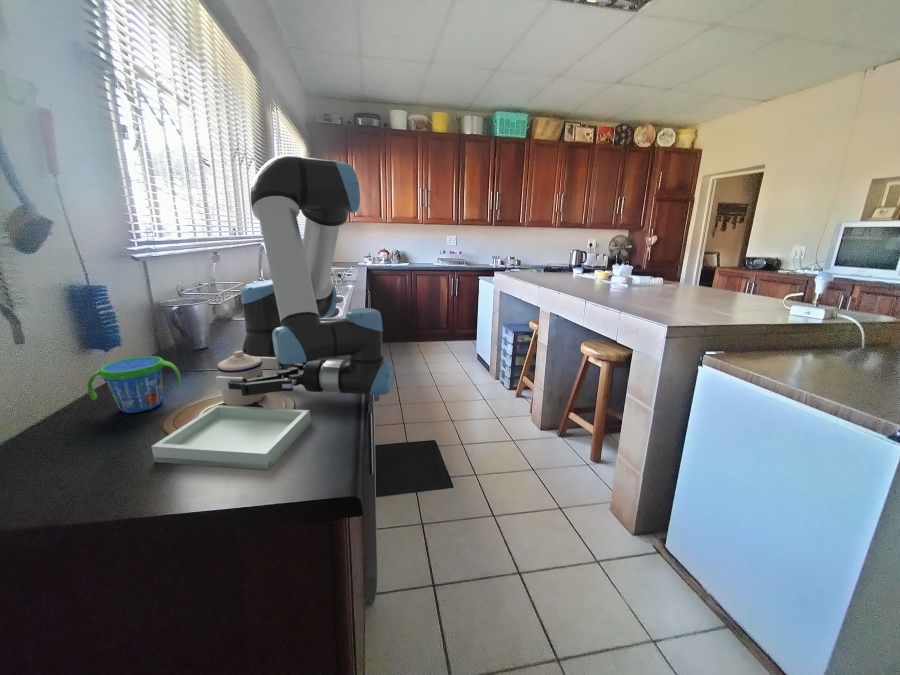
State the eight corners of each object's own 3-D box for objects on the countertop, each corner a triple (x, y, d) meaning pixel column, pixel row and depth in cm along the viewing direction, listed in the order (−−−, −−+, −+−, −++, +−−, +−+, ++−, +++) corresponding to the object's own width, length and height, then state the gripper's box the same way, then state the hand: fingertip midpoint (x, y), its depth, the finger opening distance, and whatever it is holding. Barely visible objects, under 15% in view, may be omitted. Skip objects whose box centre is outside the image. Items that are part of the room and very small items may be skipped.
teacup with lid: (264, 404, 86) (258, 355, 83) (218, 409, 83) (211, 359, 80) (268, 384, 97) (263, 341, 94) (228, 389, 93) (221, 344, 90)
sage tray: (218, 418, 79) (216, 404, 78) (310, 423, 77) (309, 410, 77) (154, 462, 64) (151, 446, 63) (268, 469, 62) (266, 453, 61)
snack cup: (85, 423, 76) (73, 376, 73) (106, 402, 85) (96, 360, 82) (178, 411, 82) (170, 366, 79) (188, 392, 91) (181, 352, 88)
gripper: (302, 415, 75) (201, 410, 77) (345, 372, 99) (267, 368, 101) (298, 380, 73) (195, 375, 75) (343, 344, 97) (264, 341, 99)
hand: (236, 371), depth 88 cm, fingers open, 13 cm apart
